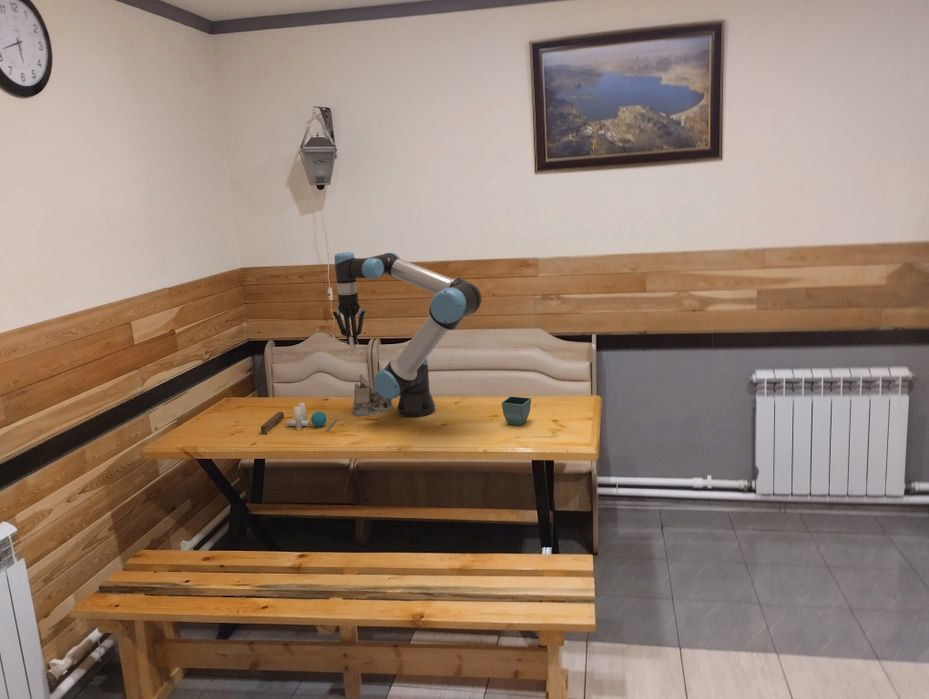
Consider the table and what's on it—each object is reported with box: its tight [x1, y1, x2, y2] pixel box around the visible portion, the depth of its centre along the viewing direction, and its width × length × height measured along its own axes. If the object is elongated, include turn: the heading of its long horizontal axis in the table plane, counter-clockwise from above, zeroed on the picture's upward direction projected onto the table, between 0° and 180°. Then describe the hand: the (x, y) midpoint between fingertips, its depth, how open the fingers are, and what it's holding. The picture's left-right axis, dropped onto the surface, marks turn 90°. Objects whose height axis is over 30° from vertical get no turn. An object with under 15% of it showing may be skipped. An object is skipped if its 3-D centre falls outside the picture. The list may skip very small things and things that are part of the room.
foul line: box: [325, 419, 339, 432], centre depth 301 cm, size 1×12×1 cm, turn 171°
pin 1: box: [293, 405, 303, 429], centre depth 300 cm, size 2×2×8 cm
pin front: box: [286, 419, 311, 427], centre depth 303 cm, size 2×2×8 cm
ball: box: [310, 410, 328, 428], centre depth 301 cm, size 6×6×6 cm
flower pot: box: [501, 395, 532, 426], centre depth 290 cm, size 9×9×9 cm
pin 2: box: [297, 402, 307, 420], centre depth 305 cm, size 2×2×8 cm
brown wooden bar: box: [260, 411, 285, 435], centre depth 305 cm, size 2×18×3 cm, turn 171°
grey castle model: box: [351, 373, 394, 417], centre depth 316 cm, size 16×16×15 cm
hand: (353, 352), depth 304 cm, fingers closed
